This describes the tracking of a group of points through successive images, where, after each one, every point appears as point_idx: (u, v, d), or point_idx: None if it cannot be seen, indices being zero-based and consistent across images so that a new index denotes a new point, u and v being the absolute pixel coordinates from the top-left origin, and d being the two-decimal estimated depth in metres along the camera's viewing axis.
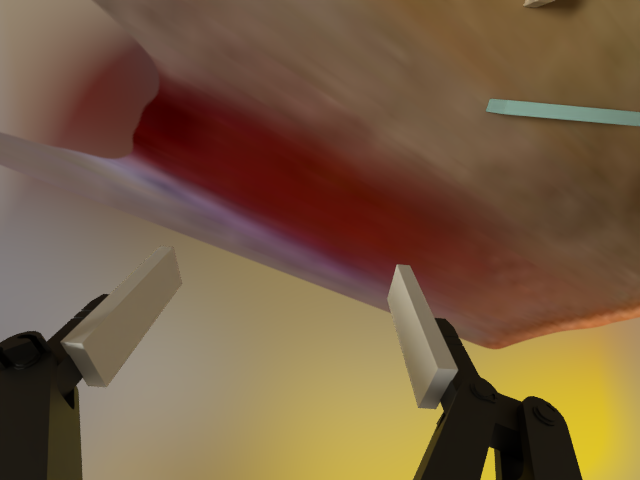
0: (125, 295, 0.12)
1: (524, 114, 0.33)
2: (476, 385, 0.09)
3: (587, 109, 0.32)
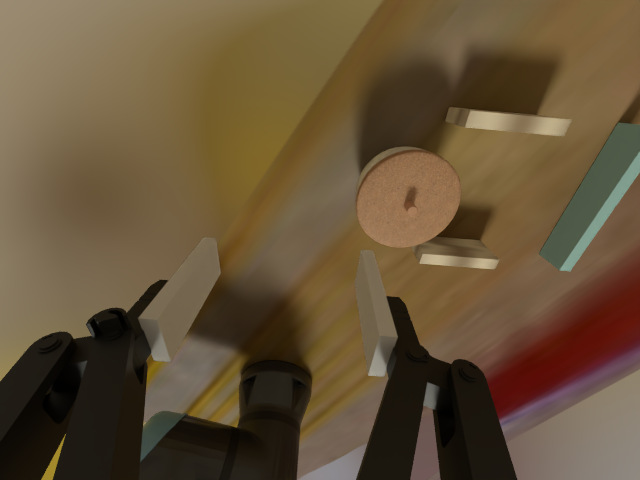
0: (183, 280, 0.13)
1: (580, 254, 0.34)
2: (411, 350, 0.10)
3: (607, 201, 0.31)
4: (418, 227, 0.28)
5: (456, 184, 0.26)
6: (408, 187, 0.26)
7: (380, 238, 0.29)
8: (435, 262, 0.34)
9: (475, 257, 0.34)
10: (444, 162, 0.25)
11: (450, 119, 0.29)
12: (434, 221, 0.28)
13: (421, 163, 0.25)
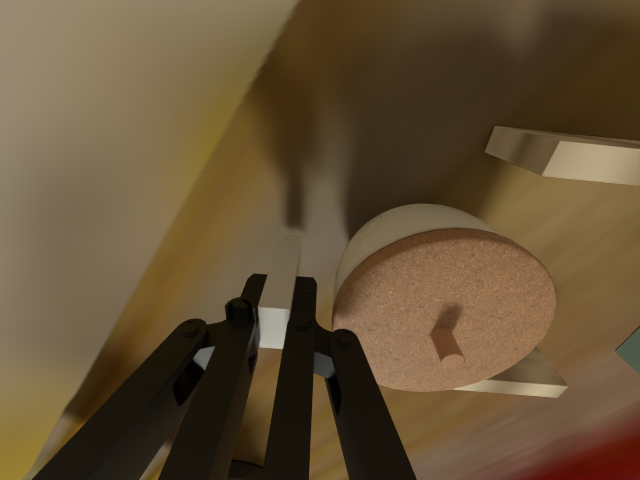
0: (280, 273, 0.14)
1: None
2: (297, 322, 0.11)
3: None
4: (457, 367, 0.14)
5: (549, 301, 0.12)
6: (443, 305, 0.12)
7: (381, 380, 0.15)
8: None
9: (526, 382, 0.20)
10: (530, 261, 0.11)
11: (499, 151, 0.15)
12: (490, 359, 0.14)
13: (477, 262, 0.11)
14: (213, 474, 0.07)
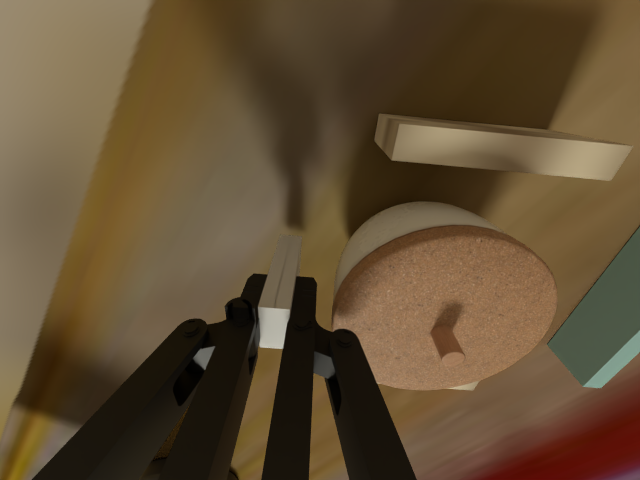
0: (280, 273, 0.14)
1: (621, 366, 0.20)
2: (297, 322, 0.11)
3: None
4: (459, 365, 0.14)
5: (549, 296, 0.12)
6: (442, 303, 0.12)
7: (382, 379, 0.15)
8: None
9: None
10: (529, 256, 0.11)
11: (379, 138, 0.15)
12: (493, 356, 0.14)
13: (474, 259, 0.11)
14: (213, 474, 0.07)
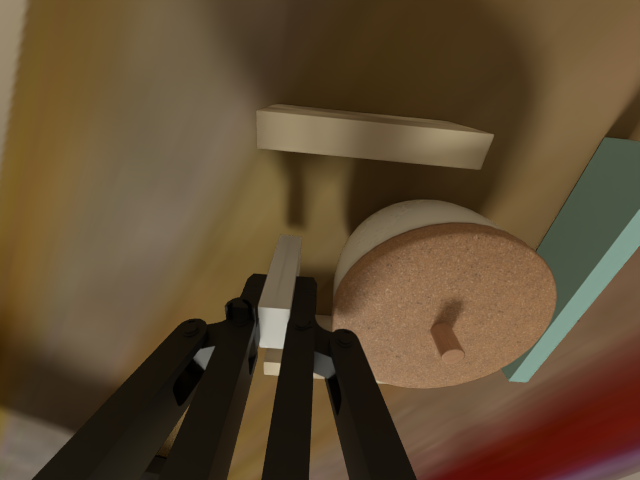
0: (280, 273, 0.14)
1: (542, 360, 0.20)
2: (297, 322, 0.11)
3: (585, 285, 0.16)
4: (460, 362, 0.14)
5: (549, 292, 0.12)
6: (441, 300, 0.12)
7: (383, 377, 0.15)
8: None
9: None
10: (527, 252, 0.11)
11: None
12: (493, 353, 0.14)
13: (472, 256, 0.11)
14: (213, 474, 0.07)
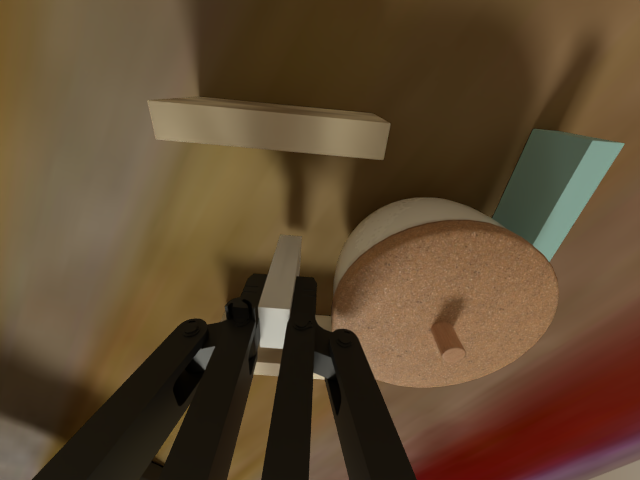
0: (280, 273, 0.14)
1: None
2: (296, 322, 0.11)
3: None
4: (462, 361, 0.14)
5: (550, 289, 0.12)
6: (441, 299, 0.12)
7: (385, 377, 0.15)
8: None
9: None
10: (526, 249, 0.11)
11: None
12: (496, 351, 0.14)
13: (471, 254, 0.11)
14: (213, 474, 0.07)
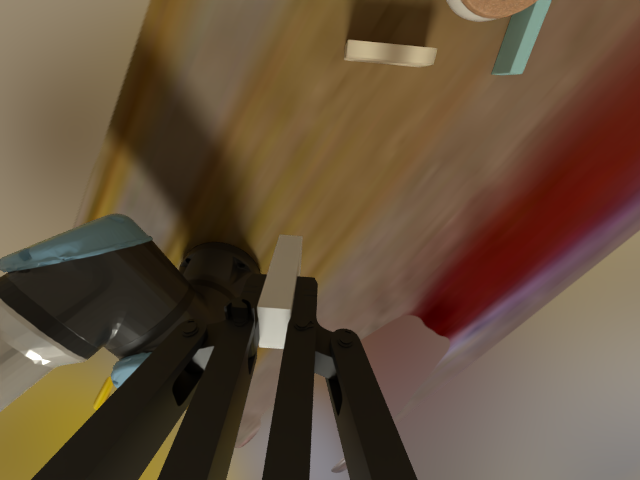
0: (280, 273, 0.14)
1: (531, 45, 0.30)
2: (297, 322, 0.11)
3: None
4: None
5: None
6: None
7: (480, 0, 0.25)
8: (364, 54, 0.30)
9: None
10: None
11: None
12: None
13: None
14: (212, 474, 0.07)
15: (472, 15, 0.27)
